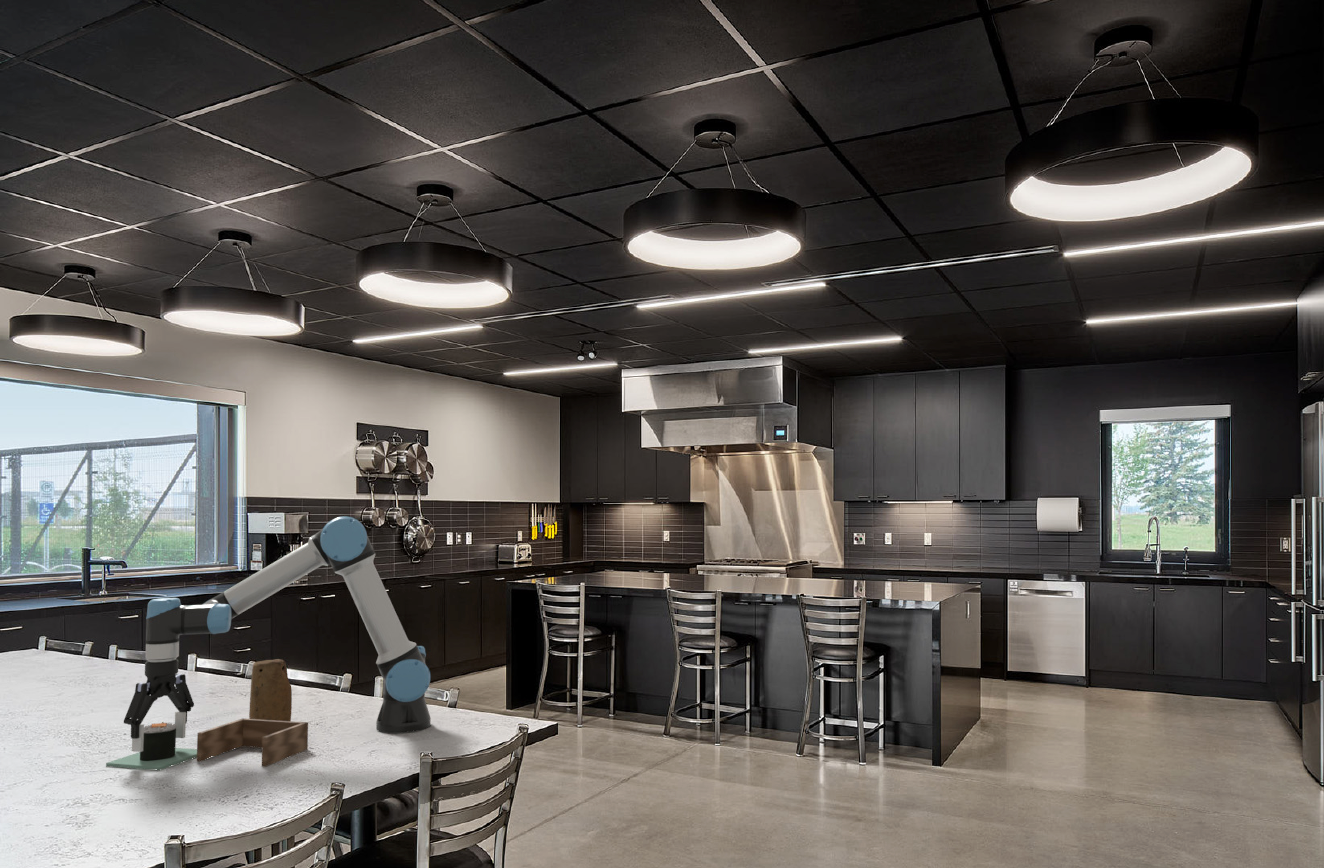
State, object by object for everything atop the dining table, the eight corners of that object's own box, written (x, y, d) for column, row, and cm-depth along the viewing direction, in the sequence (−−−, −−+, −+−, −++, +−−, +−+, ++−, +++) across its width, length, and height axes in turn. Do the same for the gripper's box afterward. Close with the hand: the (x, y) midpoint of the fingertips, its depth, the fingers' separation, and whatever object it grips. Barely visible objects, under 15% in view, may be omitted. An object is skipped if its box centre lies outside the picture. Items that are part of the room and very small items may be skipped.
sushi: (139, 762, 225) (140, 729, 225) (140, 754, 232) (142, 722, 233) (175, 758, 228) (177, 726, 229) (176, 750, 236) (177, 719, 236)
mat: (207, 753, 236) (208, 750, 236) (159, 770, 220) (159, 767, 220) (157, 749, 240) (157, 746, 240) (106, 766, 224) (106, 763, 225)
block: (250, 736, 253) (252, 663, 255) (248, 731, 260) (250, 660, 261) (292, 731, 258) (293, 660, 260) (288, 726, 265) (290, 656, 266)
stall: (241, 745, 244) (242, 718, 244) (307, 749, 239) (308, 722, 239) (196, 761, 228) (197, 732, 229) (265, 766, 223) (266, 737, 224)
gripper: (186, 651, 245) (184, 731, 243) (108, 667, 221) (105, 756, 219) (210, 652, 243) (207, 733, 242) (134, 668, 219) (130, 758, 217)
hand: (159, 744), depth 230 cm, fingers open, 13 cm apart
